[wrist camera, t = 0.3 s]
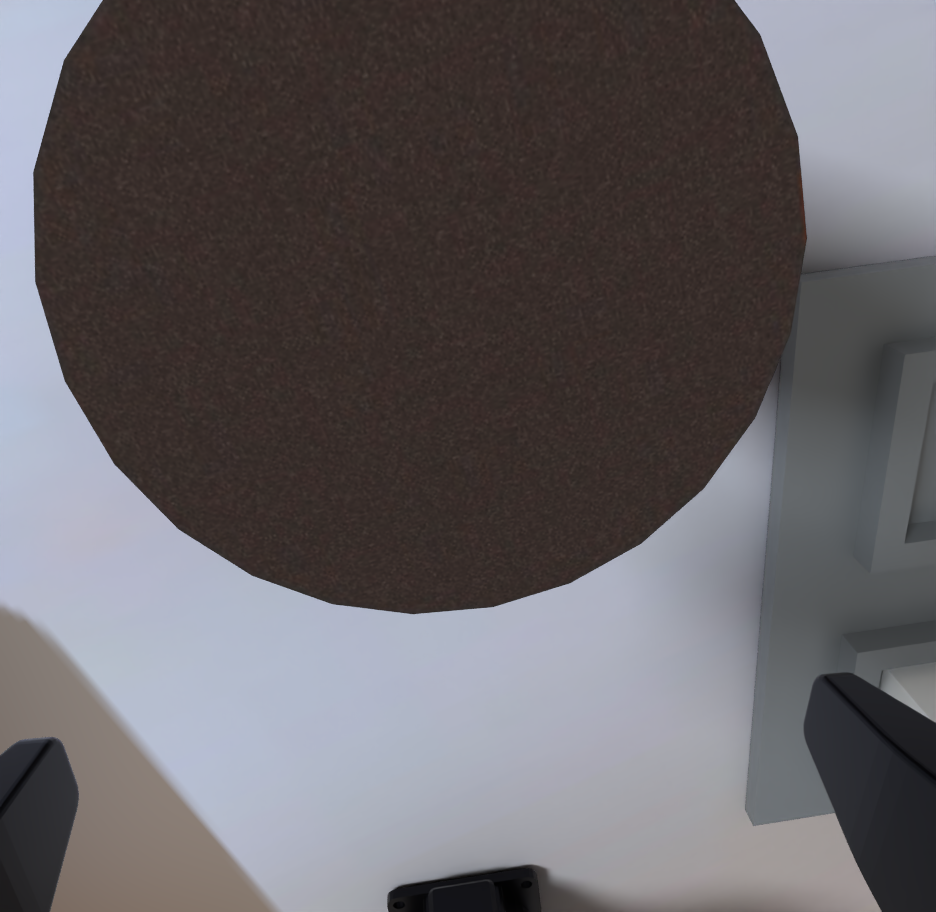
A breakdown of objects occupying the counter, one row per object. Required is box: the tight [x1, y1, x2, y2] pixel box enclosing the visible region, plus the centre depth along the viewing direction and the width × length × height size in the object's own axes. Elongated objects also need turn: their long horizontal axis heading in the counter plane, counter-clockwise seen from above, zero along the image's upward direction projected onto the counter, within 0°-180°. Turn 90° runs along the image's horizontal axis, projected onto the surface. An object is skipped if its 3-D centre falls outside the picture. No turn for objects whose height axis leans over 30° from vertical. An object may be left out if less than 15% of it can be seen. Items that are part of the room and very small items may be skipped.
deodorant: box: [33, 0, 807, 614], centre depth 13 cm, size 6×6×15 cm
